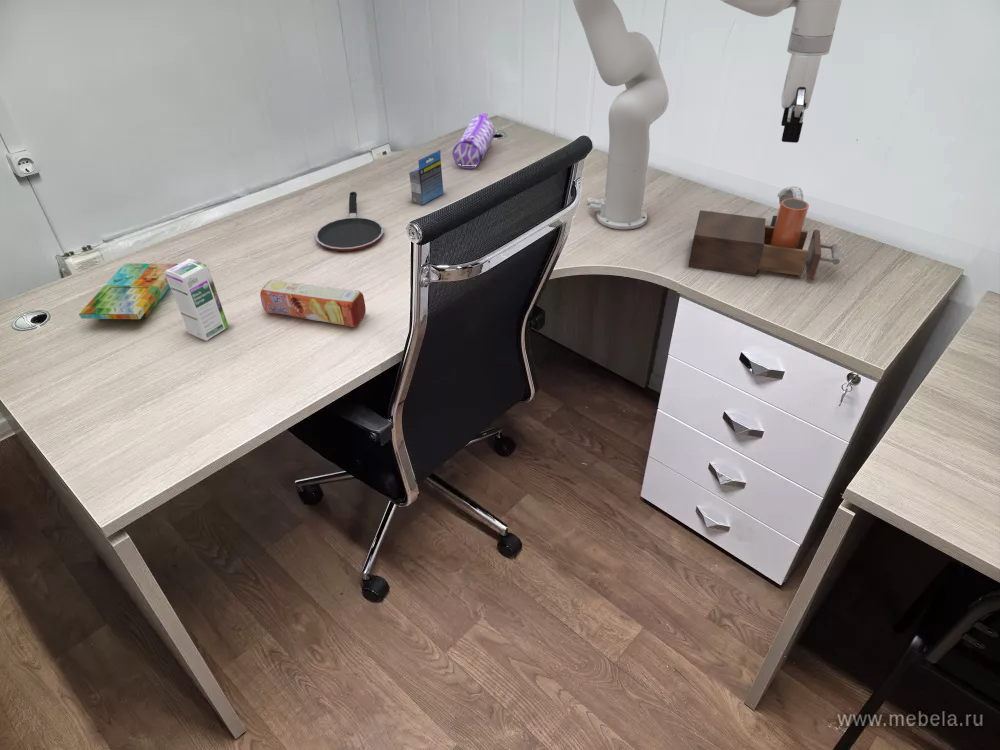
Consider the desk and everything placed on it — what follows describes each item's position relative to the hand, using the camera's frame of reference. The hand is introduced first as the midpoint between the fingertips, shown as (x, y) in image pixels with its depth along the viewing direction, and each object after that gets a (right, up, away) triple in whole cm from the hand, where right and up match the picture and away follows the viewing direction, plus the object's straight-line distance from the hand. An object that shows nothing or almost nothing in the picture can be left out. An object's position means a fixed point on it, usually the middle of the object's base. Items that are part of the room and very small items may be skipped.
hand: (789, 133), depth 139 cm
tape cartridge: (-79, -2, +43) cm, 90 cm away
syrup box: (-118, -41, -3) cm, 125 cm away
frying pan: (-97, -12, +31) cm, 103 cm away
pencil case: (-67, +16, +66) cm, 95 cm away
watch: (+10, -15, +26) cm, 32 cm away
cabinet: (-8, -23, +16) cm, 29 cm away
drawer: (+5, -25, +12) cm, 28 cm away
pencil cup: (+3, -24, +12) cm, 27 cm away
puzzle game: (-137, -34, +5) cm, 141 cm away
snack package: (-98, -38, 0) cm, 105 cm away
